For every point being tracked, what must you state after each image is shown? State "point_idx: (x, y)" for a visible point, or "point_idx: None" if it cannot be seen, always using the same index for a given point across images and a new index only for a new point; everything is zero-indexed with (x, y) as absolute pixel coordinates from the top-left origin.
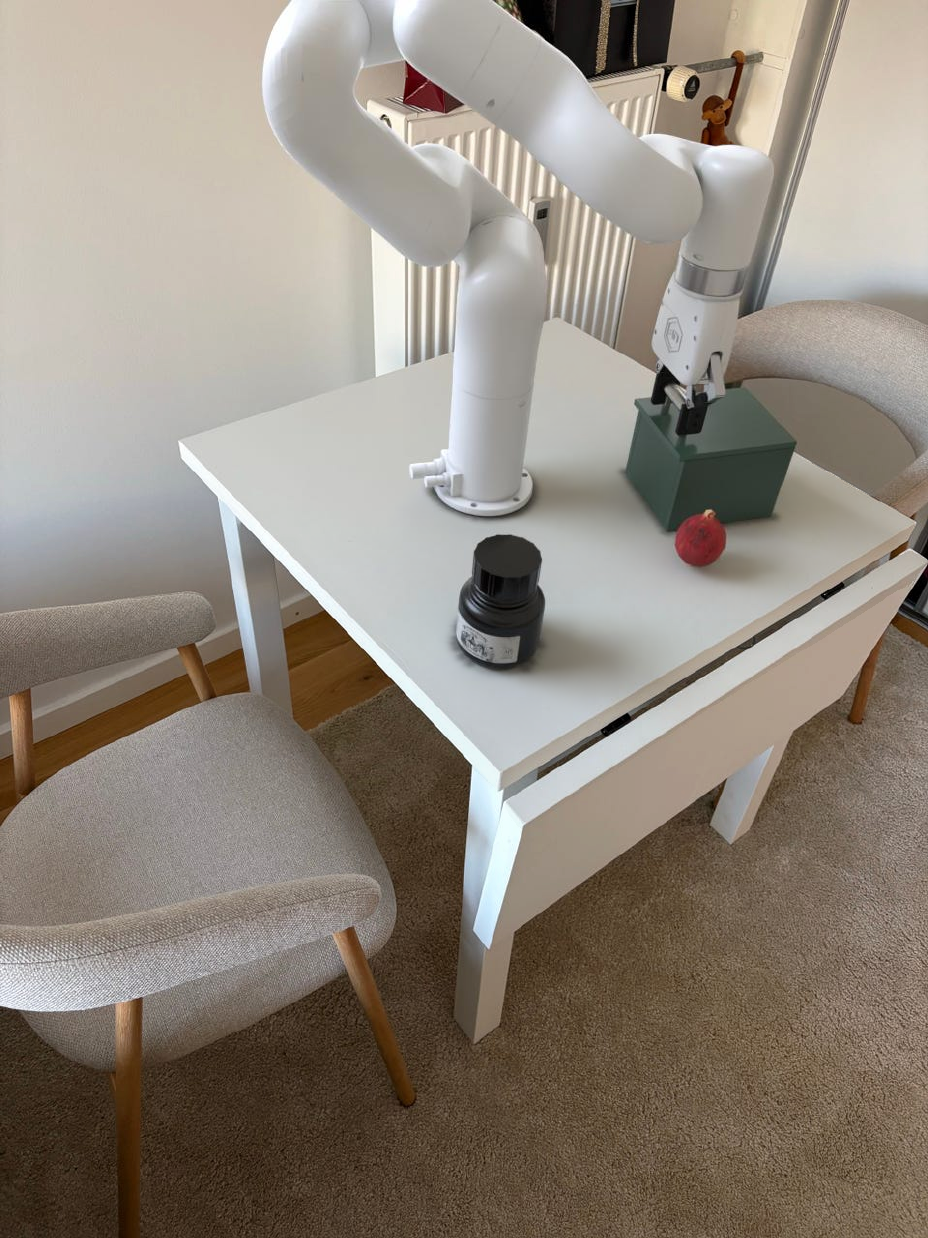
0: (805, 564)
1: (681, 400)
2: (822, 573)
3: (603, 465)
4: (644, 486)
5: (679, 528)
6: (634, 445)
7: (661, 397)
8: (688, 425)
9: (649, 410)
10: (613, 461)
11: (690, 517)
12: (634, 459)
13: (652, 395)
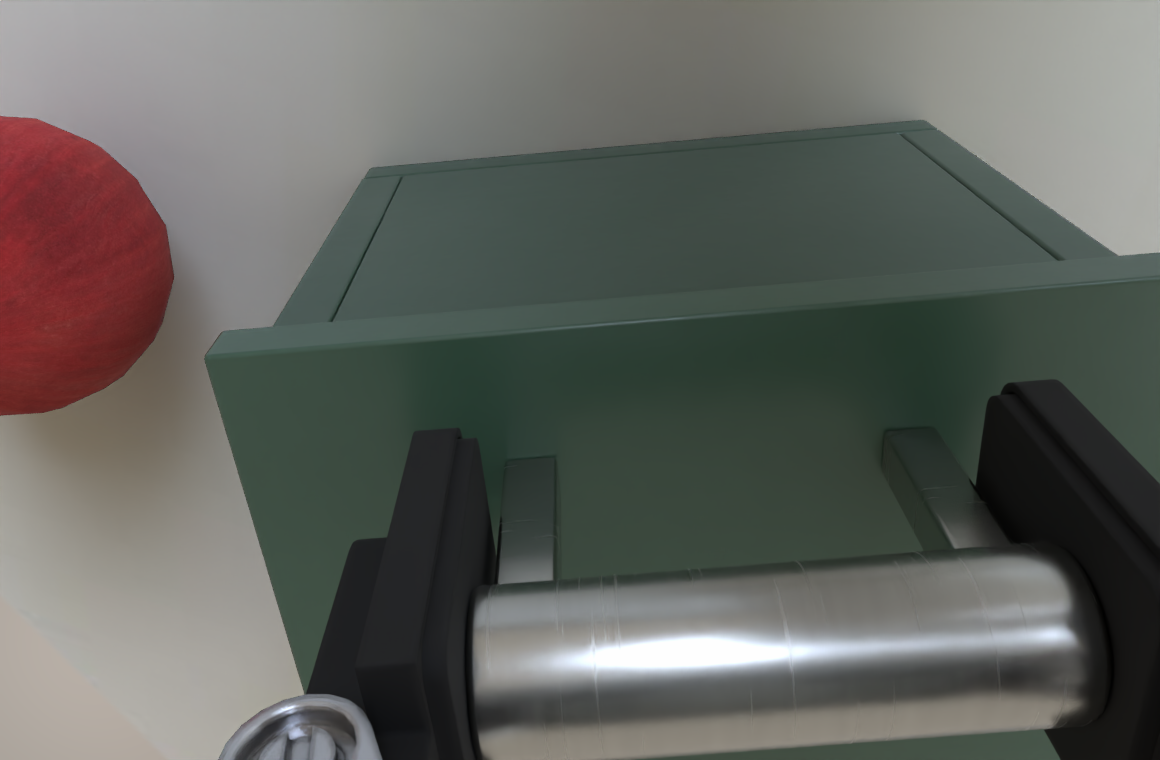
0: (145, 652)
1: (640, 669)
2: (94, 684)
3: (1034, 10)
4: (692, 159)
5: (22, 165)
6: (964, 185)
7: (1012, 494)
8: (345, 572)
9: (996, 336)
10: (1050, 88)
11: (18, 252)
12: (895, 164)
13: (1078, 418)
